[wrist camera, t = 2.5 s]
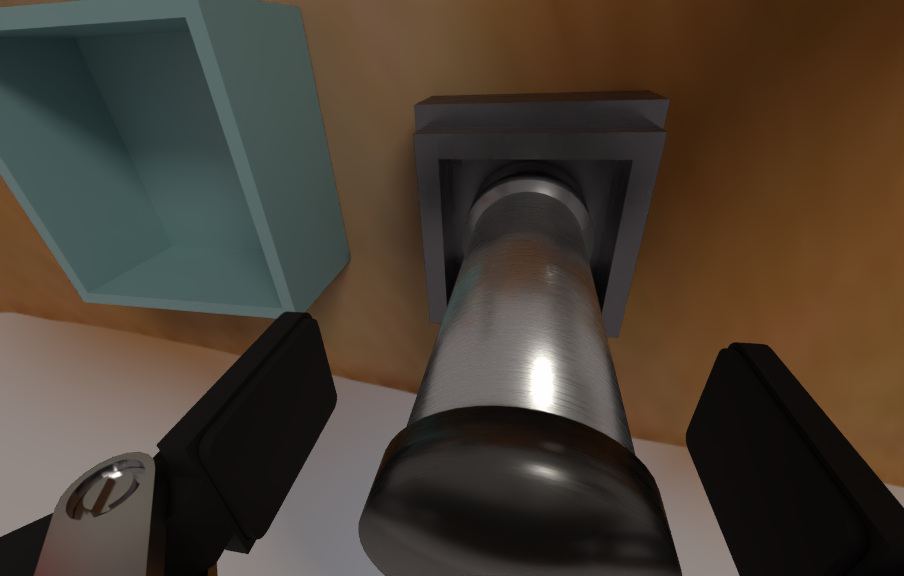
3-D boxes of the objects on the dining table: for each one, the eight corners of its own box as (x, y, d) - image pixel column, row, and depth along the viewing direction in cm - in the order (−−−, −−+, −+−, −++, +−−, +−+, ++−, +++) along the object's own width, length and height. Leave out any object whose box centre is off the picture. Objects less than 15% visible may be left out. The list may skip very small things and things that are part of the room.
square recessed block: (648, 90, 16) (695, 109, 11) (609, 281, 20) (630, 350, 16) (432, 96, 17) (393, 114, 13) (442, 272, 22) (417, 332, 17)
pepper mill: (595, 162, 15) (767, 503, 4) (578, 272, 17) (650, 666, 6) (469, 161, 15) (311, 438, 5) (471, 266, 18) (371, 605, 7)
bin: (299, 7, 16) (194, -10, 11) (350, 259, 23) (297, 320, 18) (70, 23, 18) (-104, 15, 13) (175, 250, 25) (84, 302, 20)
